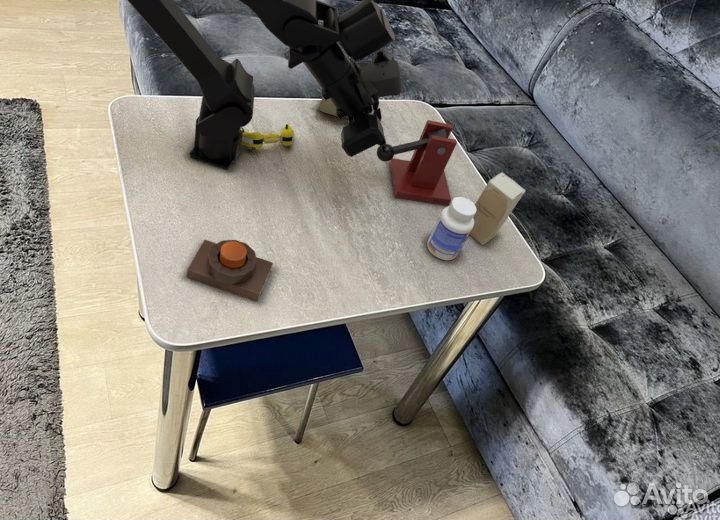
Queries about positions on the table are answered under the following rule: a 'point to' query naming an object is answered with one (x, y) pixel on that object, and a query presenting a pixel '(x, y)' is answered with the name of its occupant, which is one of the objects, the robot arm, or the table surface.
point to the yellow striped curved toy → (267, 138)
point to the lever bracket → (425, 168)
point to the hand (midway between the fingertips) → (383, 143)
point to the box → (495, 207)
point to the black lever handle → (405, 146)
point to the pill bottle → (452, 229)
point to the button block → (230, 271)
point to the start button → (233, 254)
